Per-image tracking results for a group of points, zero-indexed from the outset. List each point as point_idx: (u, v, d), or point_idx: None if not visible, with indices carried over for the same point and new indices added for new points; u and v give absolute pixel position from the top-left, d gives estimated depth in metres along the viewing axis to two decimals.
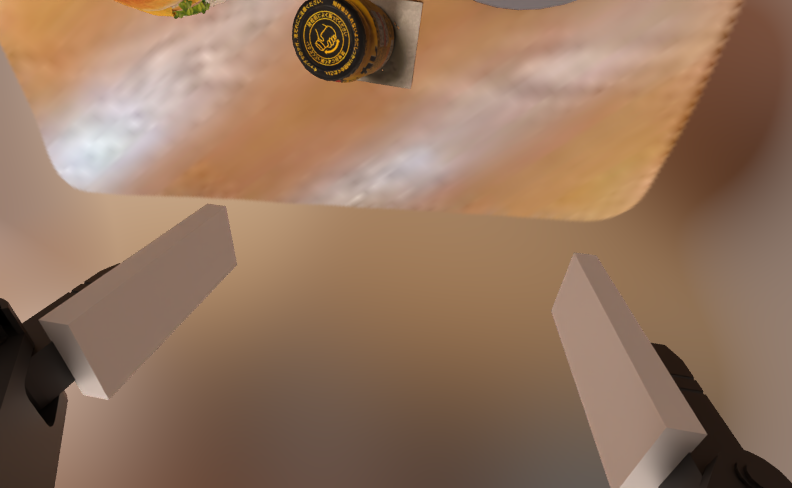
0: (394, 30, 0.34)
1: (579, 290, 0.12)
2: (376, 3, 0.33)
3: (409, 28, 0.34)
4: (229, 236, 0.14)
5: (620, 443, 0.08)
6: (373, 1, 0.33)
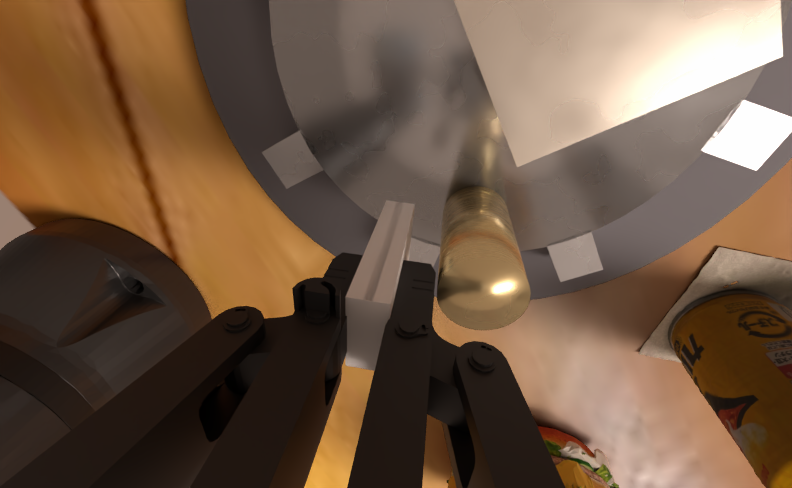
0: (737, 289, 0.20)
1: None
2: (682, 306, 0.22)
3: (748, 268, 0.20)
4: None
5: None
6: (677, 310, 0.22)
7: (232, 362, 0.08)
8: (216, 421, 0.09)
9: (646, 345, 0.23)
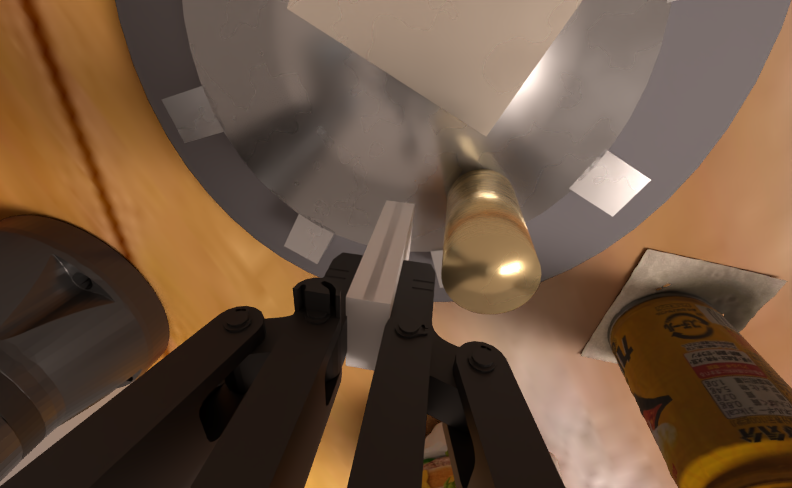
0: (669, 292, 0.21)
1: None
2: (618, 308, 0.22)
3: (678, 270, 0.20)
4: None
5: None
6: (614, 312, 0.22)
7: (232, 362, 0.08)
8: (216, 421, 0.09)
9: (587, 347, 0.23)
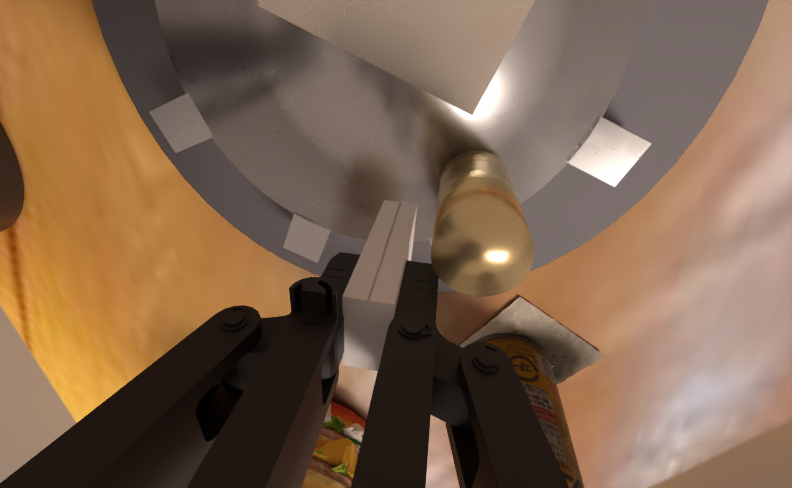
0: (522, 336, 0.24)
1: None
2: (480, 336, 0.25)
3: (535, 322, 0.23)
4: None
5: None
6: (476, 338, 0.25)
7: (229, 361, 0.08)
8: (213, 421, 0.09)
9: None
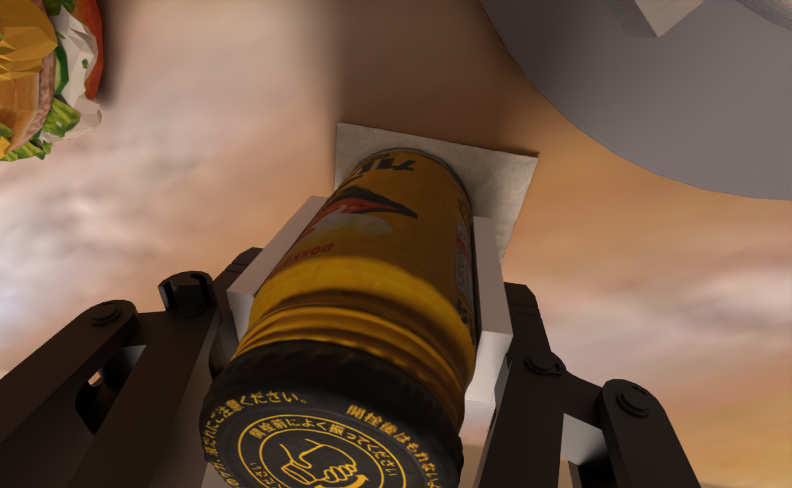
0: (468, 202, 0.16)
1: (471, 246, 0.14)
2: (433, 151, 0.15)
3: (502, 202, 0.16)
4: None
5: None
6: (427, 147, 0.15)
7: (105, 352, 0.08)
8: (99, 418, 0.09)
9: (354, 127, 0.15)
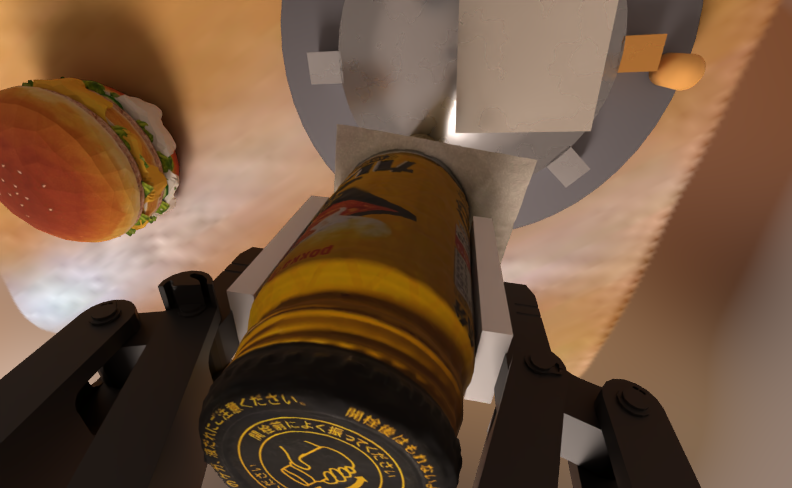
0: (467, 203, 0.16)
1: (471, 246, 0.14)
2: (432, 153, 0.15)
3: (501, 203, 0.16)
4: None
5: None
6: (426, 149, 0.15)
7: (105, 352, 0.08)
8: (99, 418, 0.09)
9: (354, 129, 0.15)
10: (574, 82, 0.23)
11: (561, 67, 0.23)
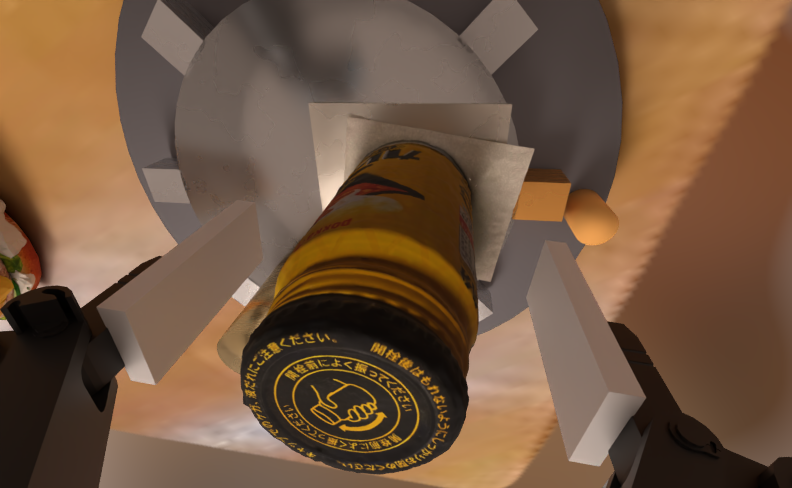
0: (469, 191, 0.17)
1: (548, 275, 0.12)
2: (437, 143, 0.16)
3: (500, 190, 0.17)
4: (257, 231, 0.15)
5: (575, 412, 0.09)
6: (431, 140, 0.16)
7: None
8: None
9: (363, 122, 0.16)
10: None
11: None
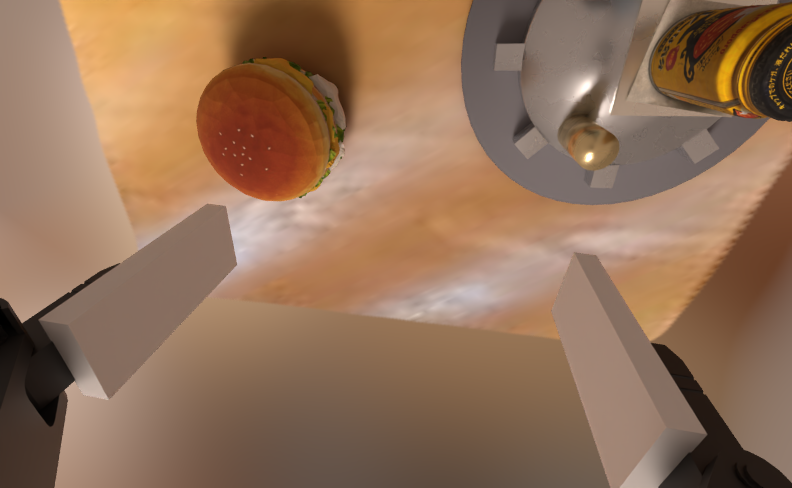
0: None
1: (579, 290, 0.12)
2: None
3: None
4: (229, 236, 0.14)
5: (620, 443, 0.08)
6: None
7: None
8: None
9: None
10: None
11: None
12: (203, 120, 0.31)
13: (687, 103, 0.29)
